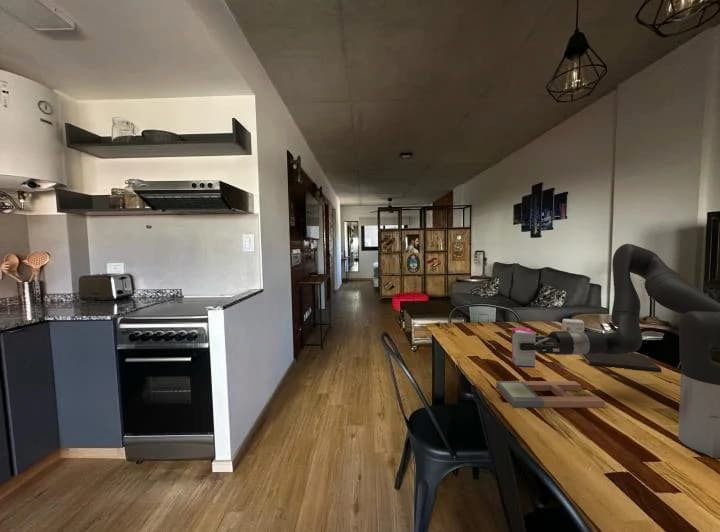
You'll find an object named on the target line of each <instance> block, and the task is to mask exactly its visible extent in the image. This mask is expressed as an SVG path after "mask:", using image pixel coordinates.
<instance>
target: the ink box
mask: <svg viewBox="0 0 720 532" xmlns="http://www.w3.org/2000/svg"><path fill="white" fill-rule="evenodd" d="M561 322H562V323H561V331H579V332H585V322H584V321H583V319H574V318H573V319H572V318H563V319H562V321H561Z"/></svg>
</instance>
